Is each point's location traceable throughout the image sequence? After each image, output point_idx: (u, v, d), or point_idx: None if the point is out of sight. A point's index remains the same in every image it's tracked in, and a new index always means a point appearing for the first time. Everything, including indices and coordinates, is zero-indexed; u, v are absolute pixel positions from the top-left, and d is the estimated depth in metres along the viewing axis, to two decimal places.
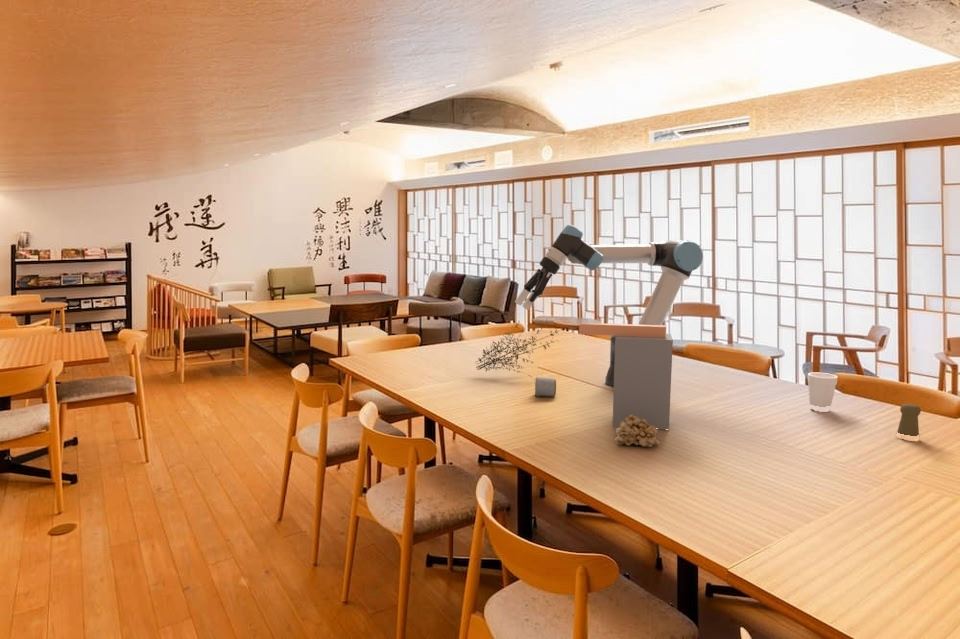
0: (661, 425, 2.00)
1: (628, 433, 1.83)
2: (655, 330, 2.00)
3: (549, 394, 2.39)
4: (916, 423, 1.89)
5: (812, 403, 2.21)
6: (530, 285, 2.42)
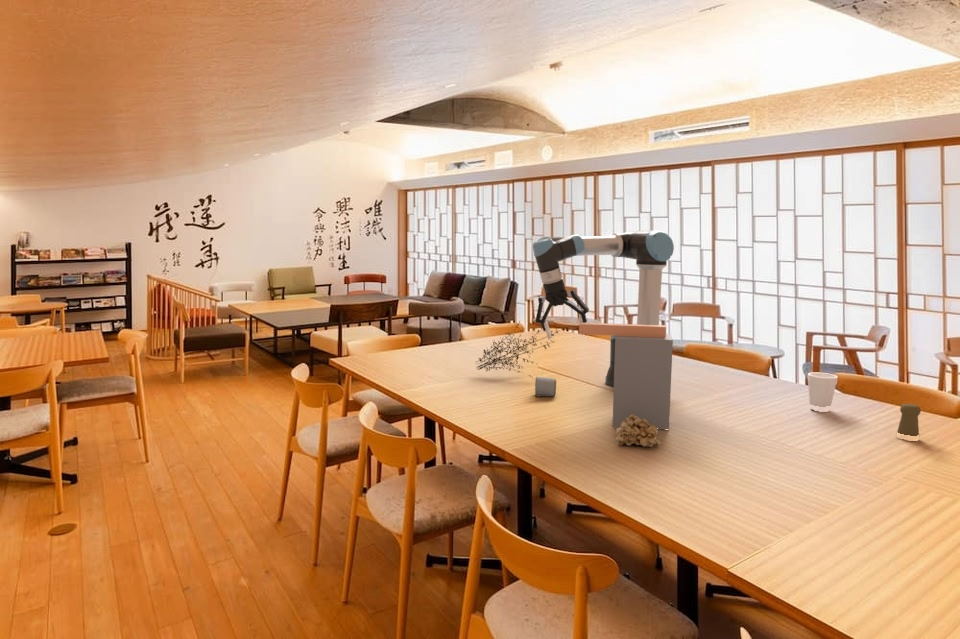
0: (661, 425, 2.00)
1: (629, 433, 1.83)
2: (655, 330, 2.00)
3: (549, 394, 2.39)
4: (916, 423, 1.89)
5: (812, 403, 2.21)
6: (547, 315, 2.28)
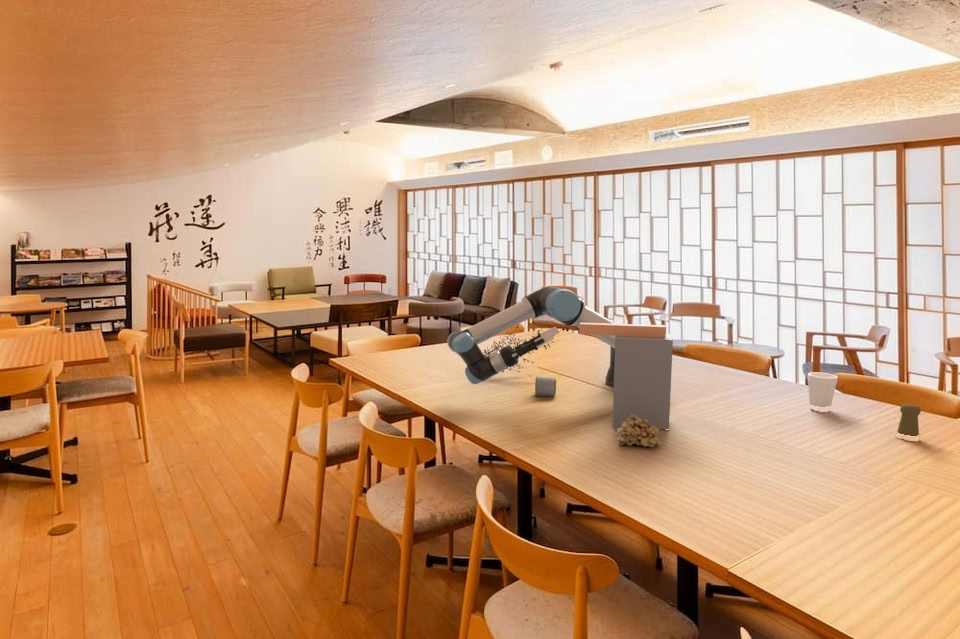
0: (661, 425, 2.00)
1: (630, 433, 1.83)
2: (655, 330, 2.00)
3: (549, 393, 2.39)
4: (916, 423, 1.89)
5: (812, 403, 2.21)
6: None
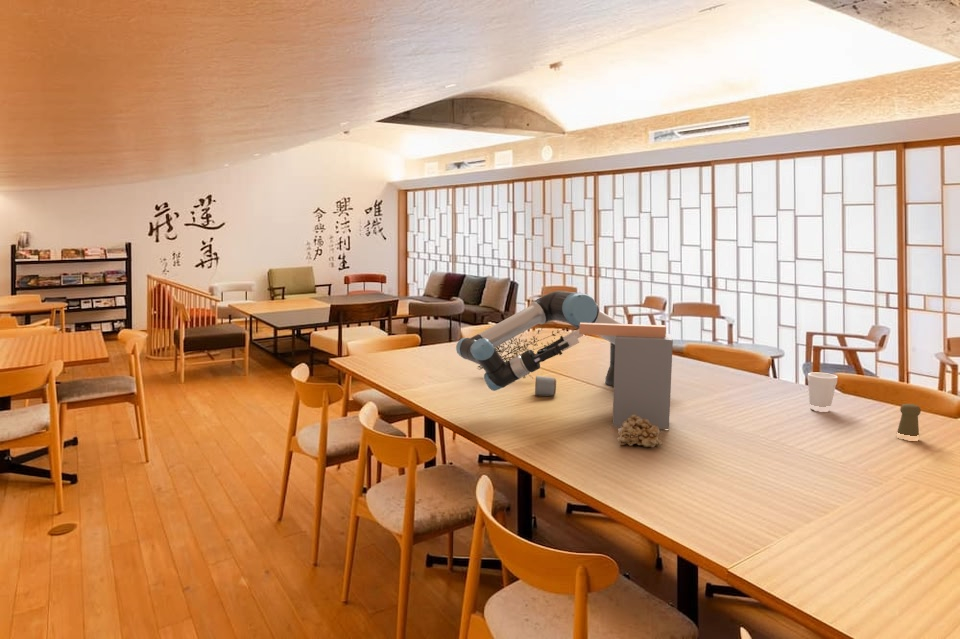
0: (661, 425, 2.00)
1: (630, 433, 1.83)
2: (655, 330, 2.00)
3: (549, 393, 2.40)
4: (916, 423, 1.89)
5: (812, 403, 2.21)
6: (558, 345, 2.15)
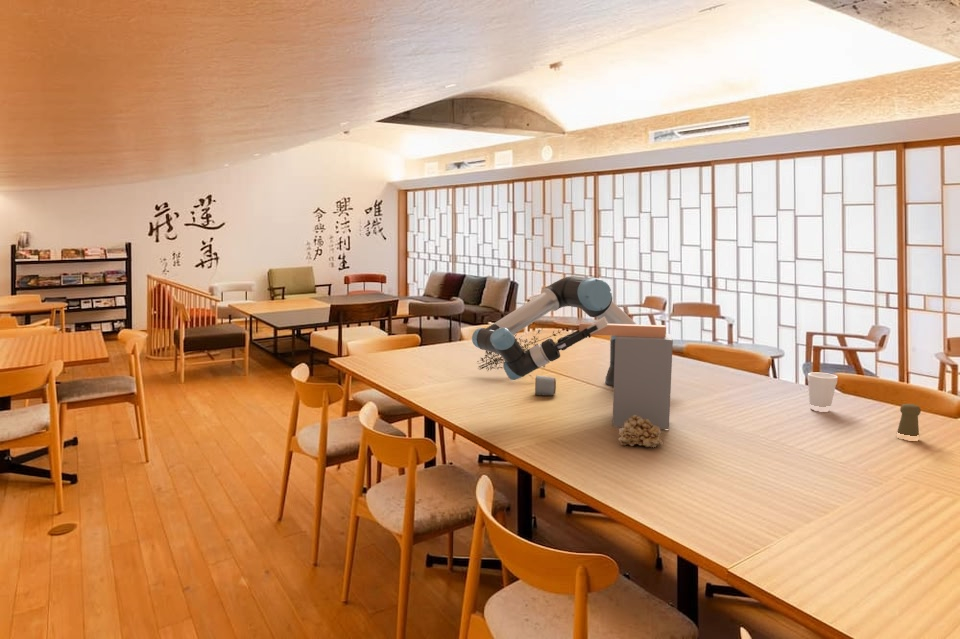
0: (661, 425, 2.00)
1: (632, 433, 1.82)
2: (655, 330, 2.00)
3: (549, 393, 2.41)
4: (916, 423, 1.89)
5: (812, 403, 2.21)
6: None
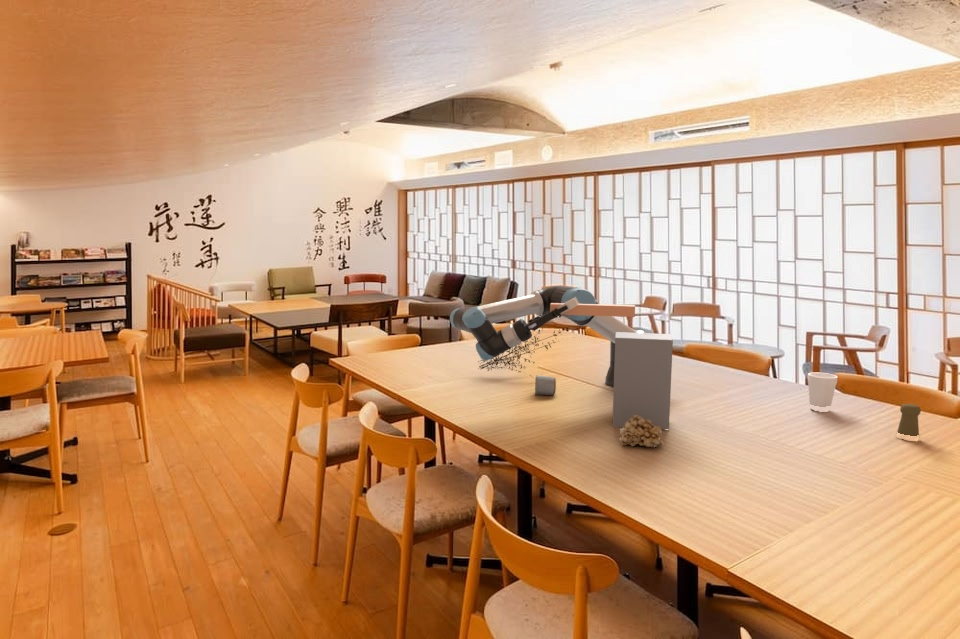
0: (661, 425, 2.00)
1: (632, 433, 1.82)
2: (625, 310, 2.02)
3: (549, 392, 2.41)
4: (916, 423, 1.89)
5: (812, 403, 2.21)
6: None
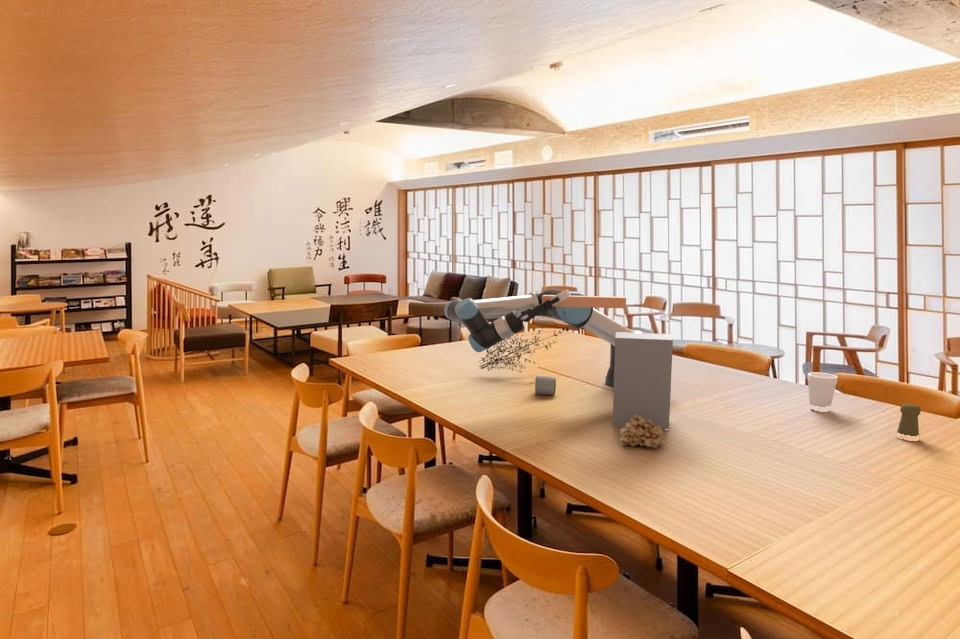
0: (661, 425, 2.00)
1: (633, 434, 1.82)
2: (616, 301, 2.03)
3: (549, 392, 2.41)
4: (916, 423, 1.89)
5: (812, 403, 2.21)
6: None
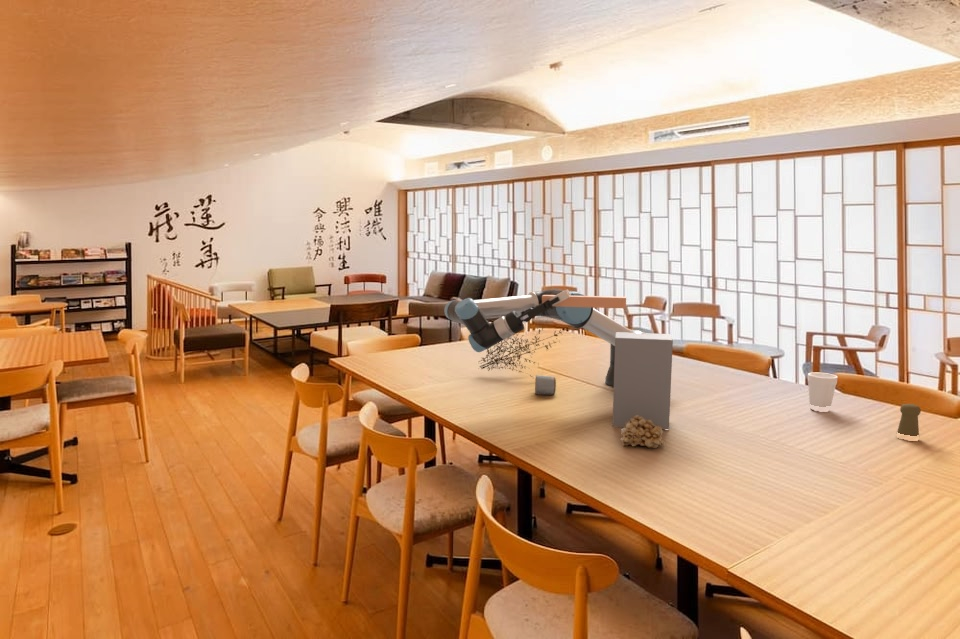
0: (661, 425, 2.00)
1: (633, 434, 1.82)
2: (616, 301, 2.03)
3: (549, 392, 2.42)
4: (916, 423, 1.89)
5: (812, 403, 2.21)
6: None
